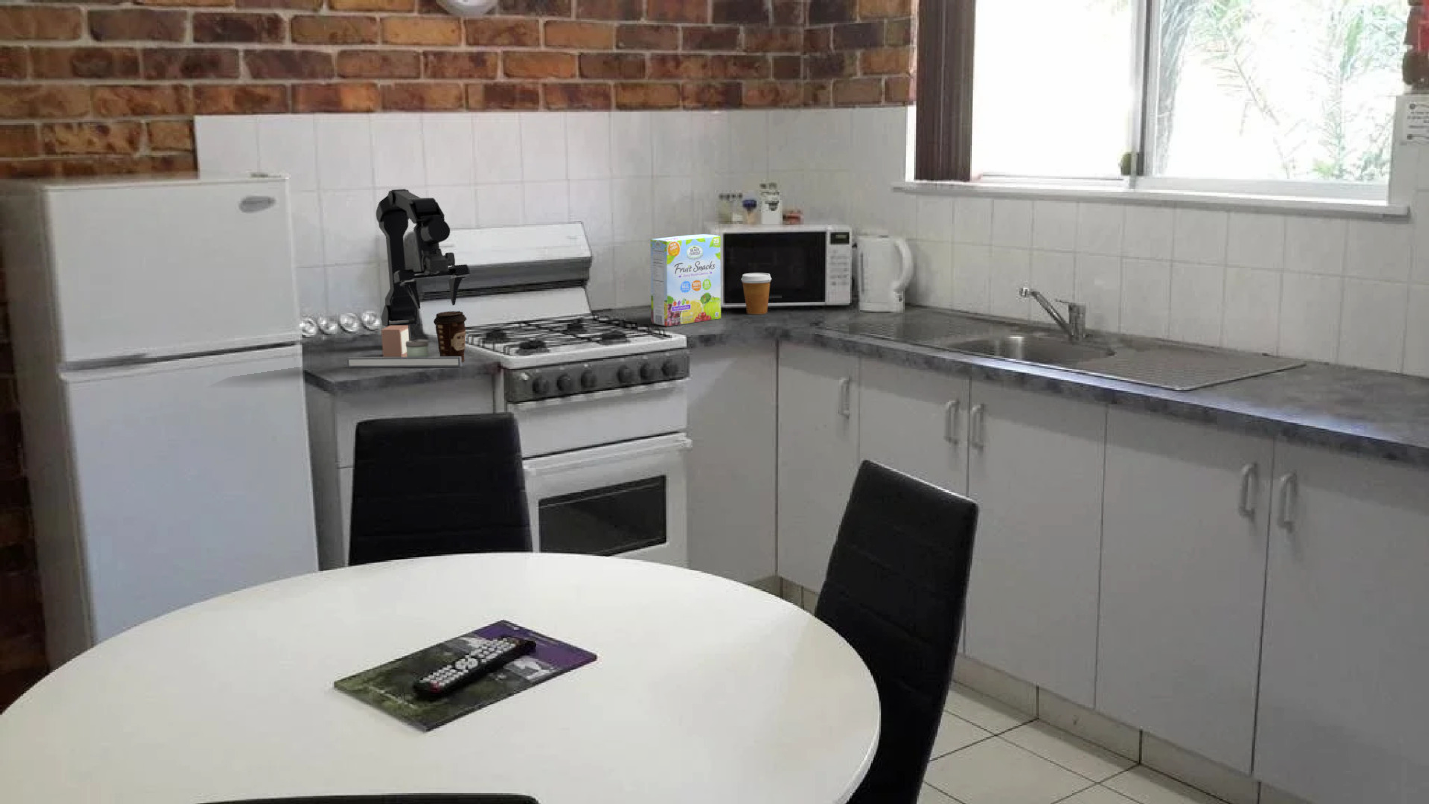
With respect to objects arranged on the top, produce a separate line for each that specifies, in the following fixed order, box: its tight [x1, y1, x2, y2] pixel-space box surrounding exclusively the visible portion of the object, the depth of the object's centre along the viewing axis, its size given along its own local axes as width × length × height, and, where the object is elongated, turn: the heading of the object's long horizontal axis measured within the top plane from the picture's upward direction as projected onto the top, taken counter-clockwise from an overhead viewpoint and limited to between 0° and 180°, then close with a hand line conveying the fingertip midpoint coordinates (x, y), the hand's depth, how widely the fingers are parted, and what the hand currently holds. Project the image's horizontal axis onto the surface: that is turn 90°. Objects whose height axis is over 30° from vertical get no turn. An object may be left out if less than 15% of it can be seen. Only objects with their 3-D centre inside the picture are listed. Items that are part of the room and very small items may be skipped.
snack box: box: [650, 233, 722, 327], centre depth 407 cm, size 22×9×26 cm, turn 131°
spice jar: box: [406, 339, 430, 357], centre depth 352 cm, size 6×6×6 cm
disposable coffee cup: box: [740, 272, 772, 315], centre depth 422 cm, size 10×10×12 cm
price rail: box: [346, 356, 463, 368], centre depth 349 cm, size 2×30×2 cm, turn 84°
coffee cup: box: [433, 310, 468, 363], centre depth 353 cm, size 9×8×13 cm
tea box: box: [380, 325, 409, 357], centre depth 363 cm, size 5×7×8 cm
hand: (436, 307), depth 349 cm, fingers open, 9 cm apart
